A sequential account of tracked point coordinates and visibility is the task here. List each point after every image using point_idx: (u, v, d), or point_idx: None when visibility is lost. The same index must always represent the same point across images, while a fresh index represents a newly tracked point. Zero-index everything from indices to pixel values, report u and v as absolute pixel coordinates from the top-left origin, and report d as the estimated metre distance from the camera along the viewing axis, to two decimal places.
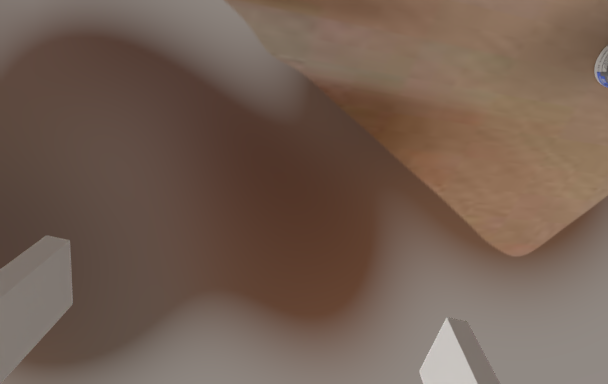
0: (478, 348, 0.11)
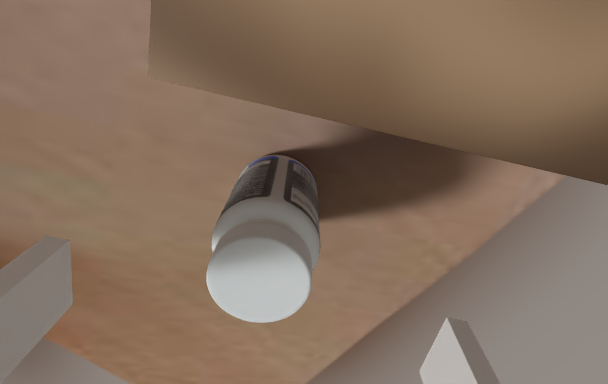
0: (478, 348, 0.11)
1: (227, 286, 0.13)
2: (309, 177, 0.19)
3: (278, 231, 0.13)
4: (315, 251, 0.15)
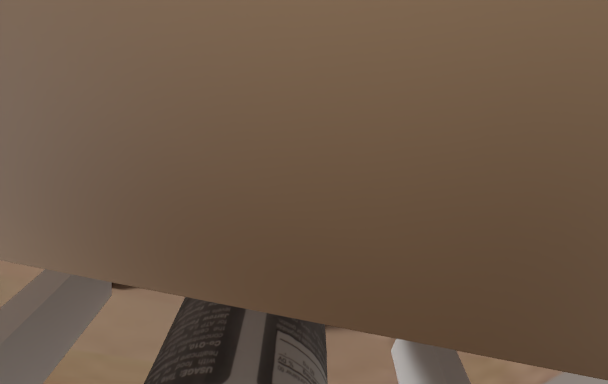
0: None
1: None
2: None
3: None
4: None
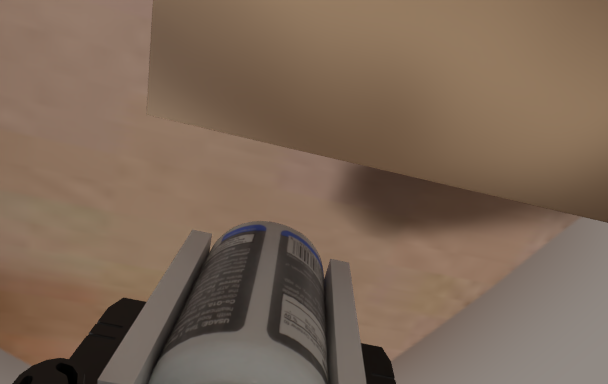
0: (350, 282, 0.13)
1: None
2: (311, 257, 0.13)
3: None
4: None
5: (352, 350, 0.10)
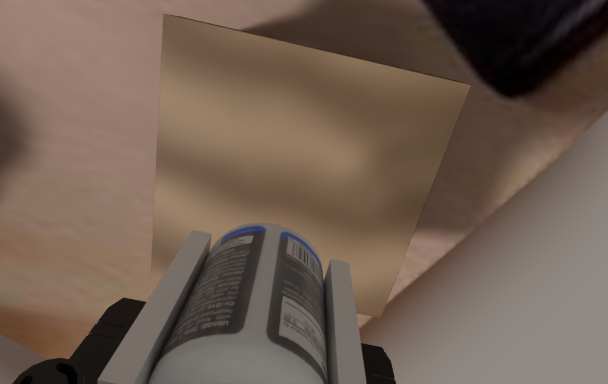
0: (350, 282, 0.13)
1: None
2: (311, 259, 0.13)
3: None
4: None
5: (352, 350, 0.10)
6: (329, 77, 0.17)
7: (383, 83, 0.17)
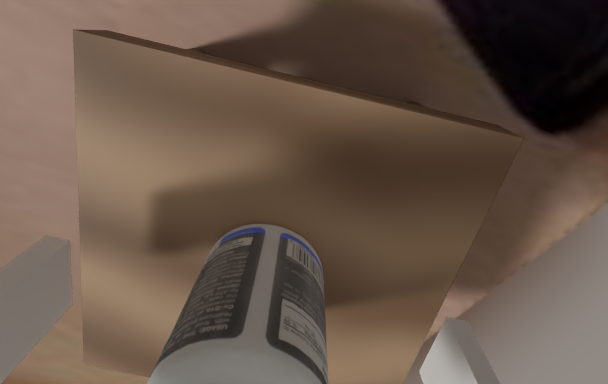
0: (478, 348, 0.11)
1: None
2: (311, 261, 0.13)
3: None
4: None
5: None
6: (320, 123, 0.12)
7: (397, 134, 0.12)
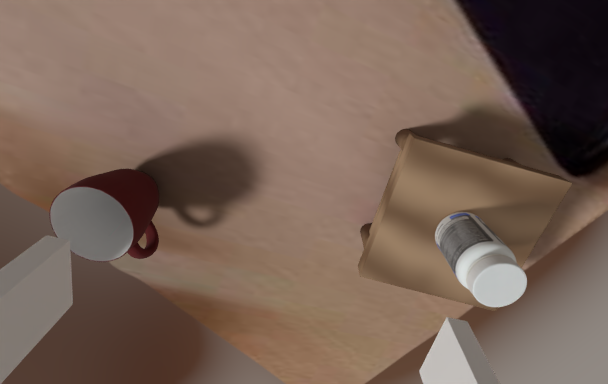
0: (478, 348, 0.11)
1: (483, 287, 0.27)
2: None
3: (511, 260, 0.27)
4: None
5: None
6: (496, 174, 0.32)
7: (524, 179, 0.32)
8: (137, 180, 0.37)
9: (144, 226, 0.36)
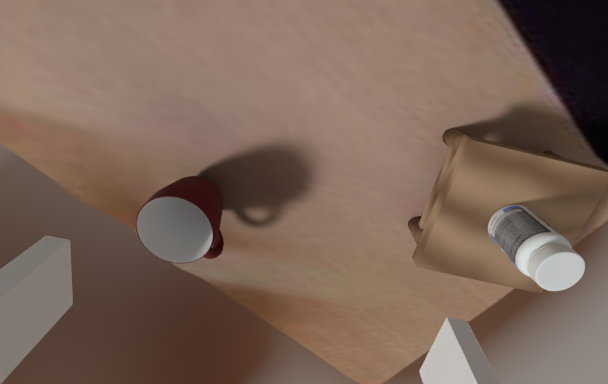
0: (478, 348, 0.11)
1: (545, 273, 0.30)
2: None
3: (570, 248, 0.30)
4: None
5: None
6: (546, 169, 0.35)
7: (572, 172, 0.35)
8: (207, 187, 0.40)
9: (218, 229, 0.39)
